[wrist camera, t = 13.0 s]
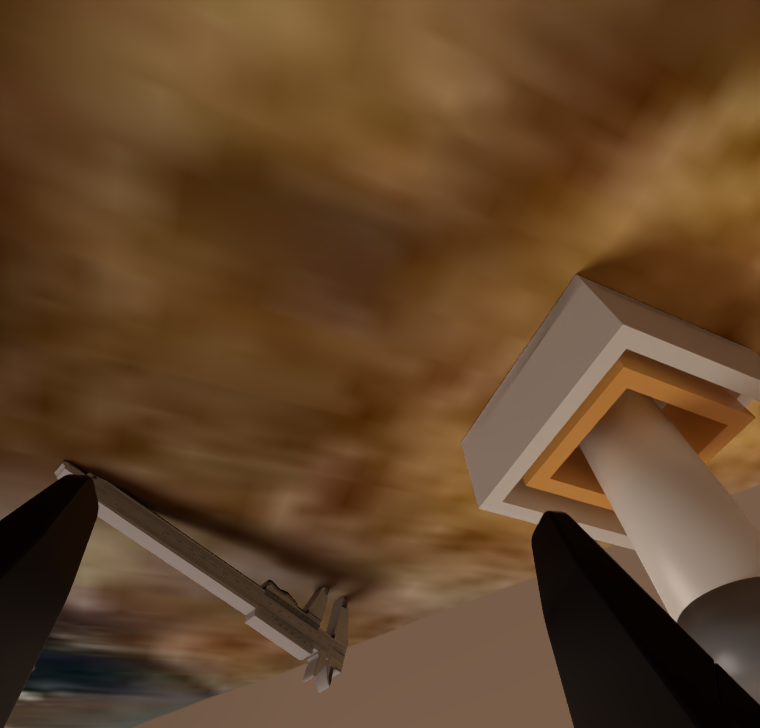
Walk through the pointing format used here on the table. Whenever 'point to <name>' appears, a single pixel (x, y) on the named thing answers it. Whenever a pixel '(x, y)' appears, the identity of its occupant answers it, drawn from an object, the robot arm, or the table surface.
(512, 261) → the table surface
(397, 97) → the table surface
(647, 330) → the socket box
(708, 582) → the plug
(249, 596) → the caliper
